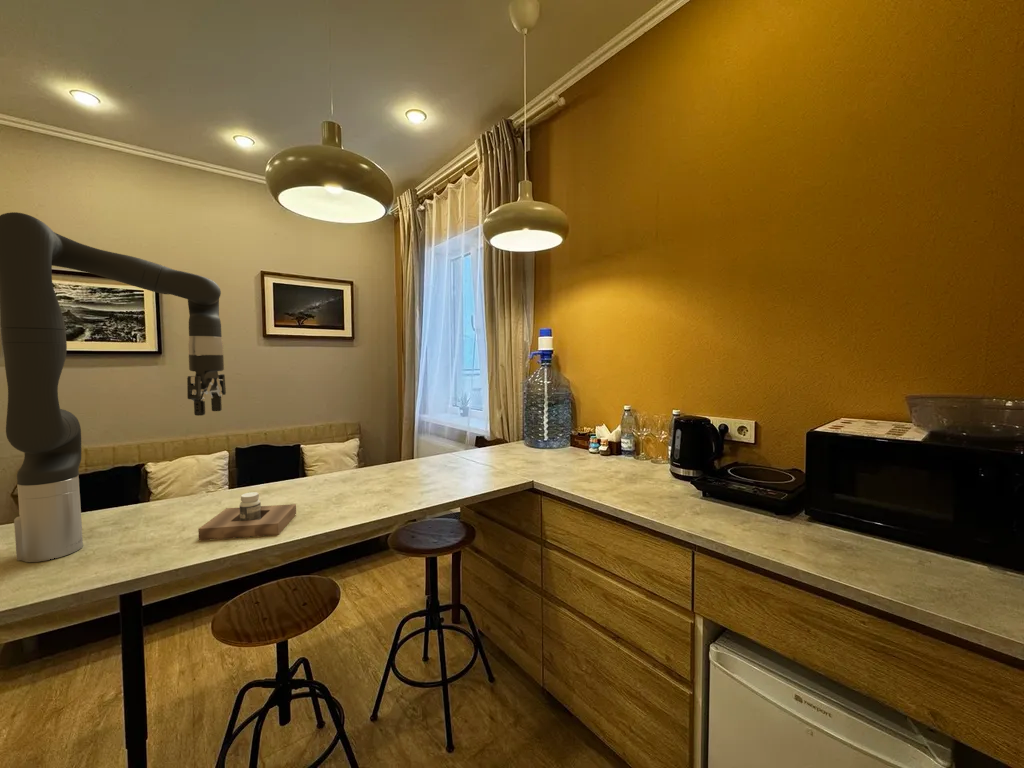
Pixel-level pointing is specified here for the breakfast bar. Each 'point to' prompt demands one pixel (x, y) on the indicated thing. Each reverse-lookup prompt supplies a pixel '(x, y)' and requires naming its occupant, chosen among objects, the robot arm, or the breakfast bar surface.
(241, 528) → the socket block
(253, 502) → the pill bottle
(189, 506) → the breakfast bar surface
